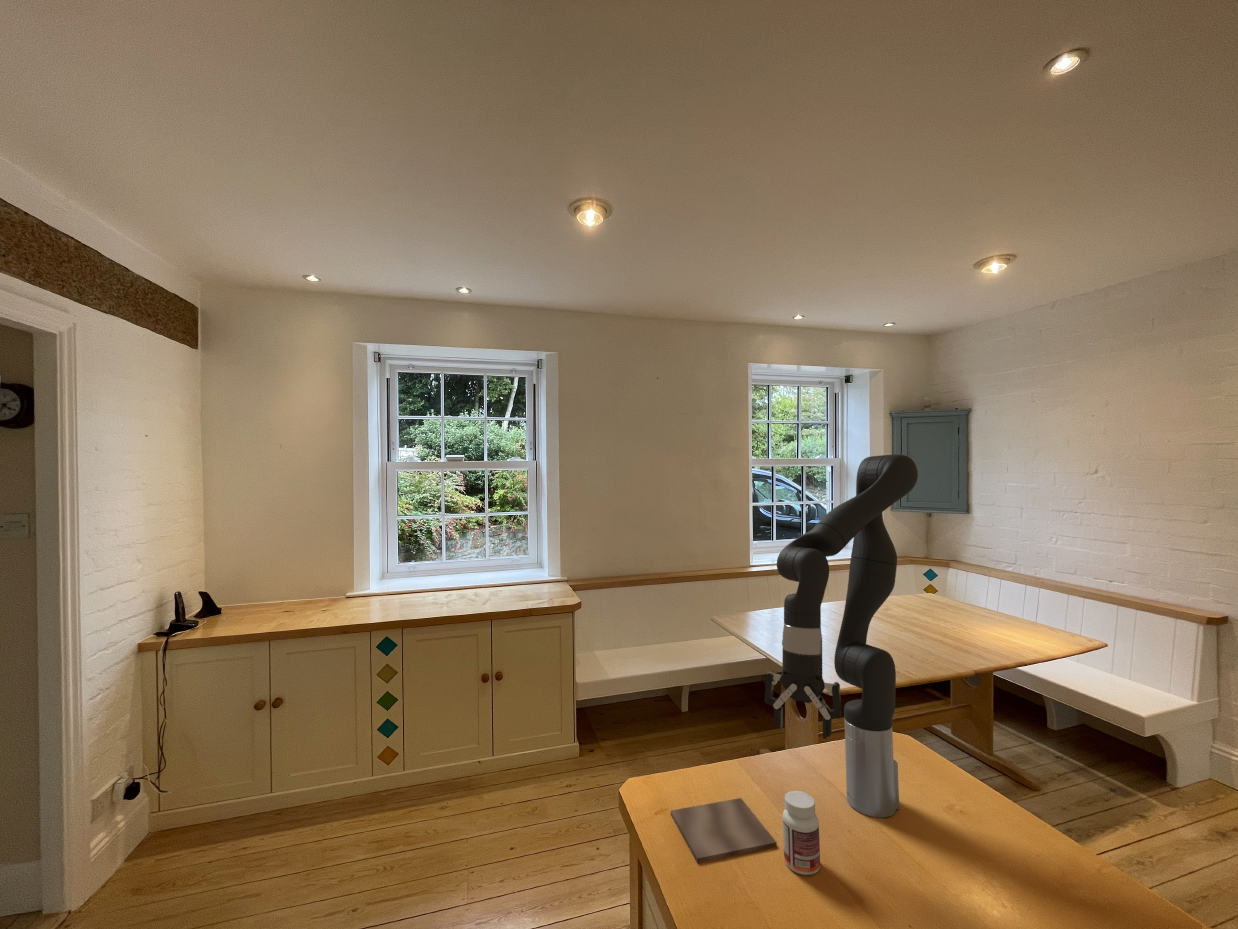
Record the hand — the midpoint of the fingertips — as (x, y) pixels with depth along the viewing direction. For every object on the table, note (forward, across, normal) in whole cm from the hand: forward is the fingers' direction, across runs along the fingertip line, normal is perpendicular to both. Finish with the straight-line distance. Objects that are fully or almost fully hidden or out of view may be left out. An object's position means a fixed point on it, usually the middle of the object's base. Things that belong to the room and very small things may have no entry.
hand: (802, 732), depth 100 cm
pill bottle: (+20, -1, +8) cm, 21 cm away
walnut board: (+20, +14, +6) cm, 25 cm away
